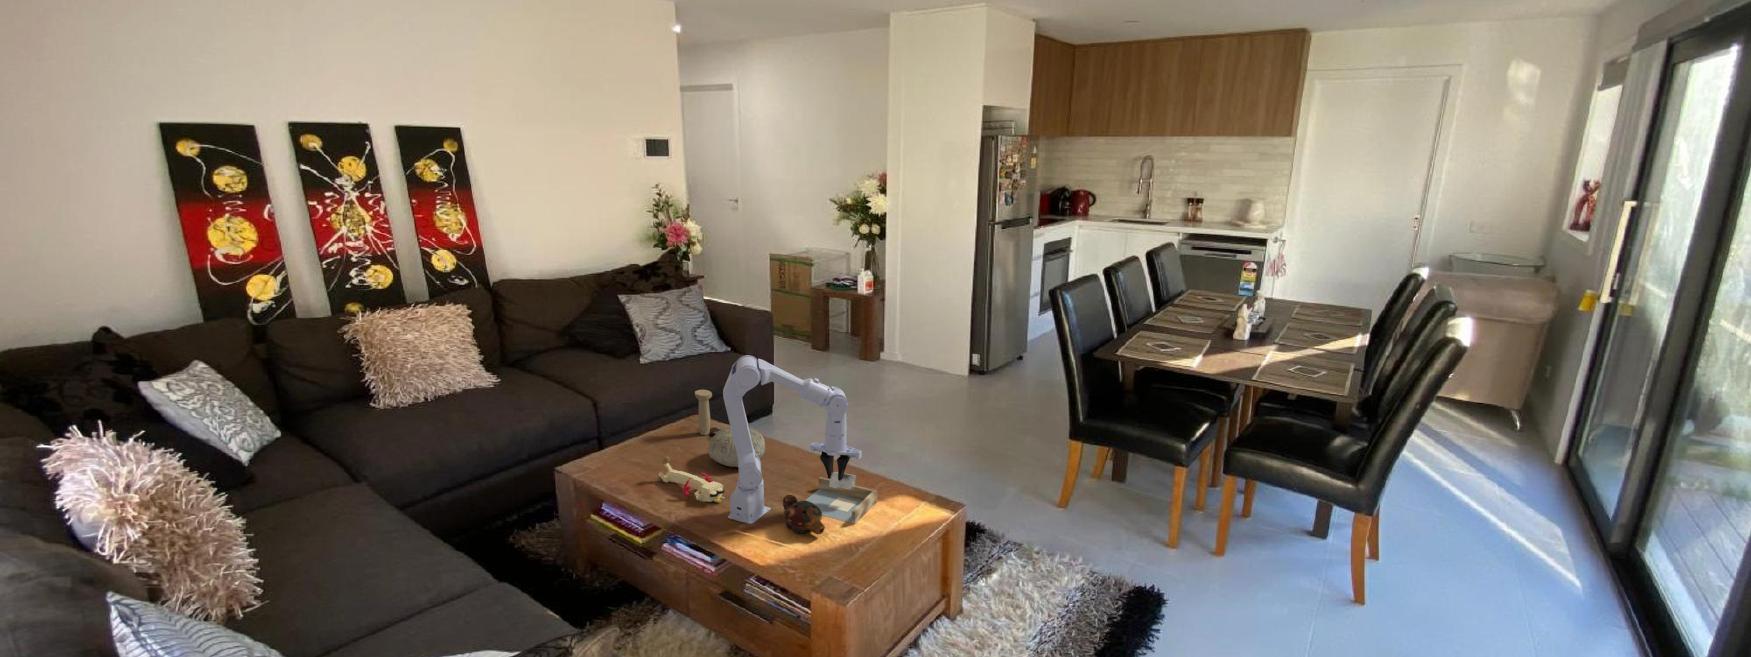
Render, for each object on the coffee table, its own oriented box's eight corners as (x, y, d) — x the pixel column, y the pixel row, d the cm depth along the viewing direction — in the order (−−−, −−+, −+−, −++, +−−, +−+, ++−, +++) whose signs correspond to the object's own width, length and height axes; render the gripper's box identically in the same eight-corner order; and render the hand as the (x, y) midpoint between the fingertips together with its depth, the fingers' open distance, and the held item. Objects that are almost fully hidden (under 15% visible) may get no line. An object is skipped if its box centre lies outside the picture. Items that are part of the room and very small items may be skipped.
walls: (855, 525, 203) (855, 512, 202) (795, 509, 211) (795, 496, 209) (877, 503, 215) (877, 490, 214) (820, 489, 223) (820, 476, 222)
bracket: (835, 486, 215) (838, 471, 215) (853, 489, 213) (856, 475, 213) (828, 486, 209) (831, 472, 210) (847, 490, 208) (849, 475, 208)
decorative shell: (698, 467, 235) (696, 437, 232) (725, 445, 251) (724, 417, 249) (750, 476, 230) (749, 446, 227) (774, 453, 246) (774, 424, 244)
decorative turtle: (794, 513, 209) (796, 486, 207) (835, 535, 200) (837, 508, 198) (768, 525, 201) (770, 498, 199) (809, 548, 193) (812, 520, 190)
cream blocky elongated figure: (652, 488, 224) (708, 509, 209) (649, 461, 222) (705, 479, 207) (679, 477, 232) (735, 495, 216) (676, 450, 230) (732, 467, 215)
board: (851, 524, 203) (851, 523, 203) (795, 509, 211) (795, 508, 210) (872, 504, 215) (872, 502, 214) (818, 490, 222) (818, 489, 222)
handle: (704, 438, 256) (702, 396, 252) (693, 432, 260) (691, 391, 256) (716, 434, 259) (714, 393, 256) (705, 429, 264) (704, 388, 260)
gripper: (805, 434, 205) (805, 479, 209) (855, 442, 201) (854, 488, 204) (816, 424, 212) (816, 469, 215) (864, 432, 207) (863, 477, 211)
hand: (835, 478), depth 210 cm, fingers closed on bracket, 2 cm apart
